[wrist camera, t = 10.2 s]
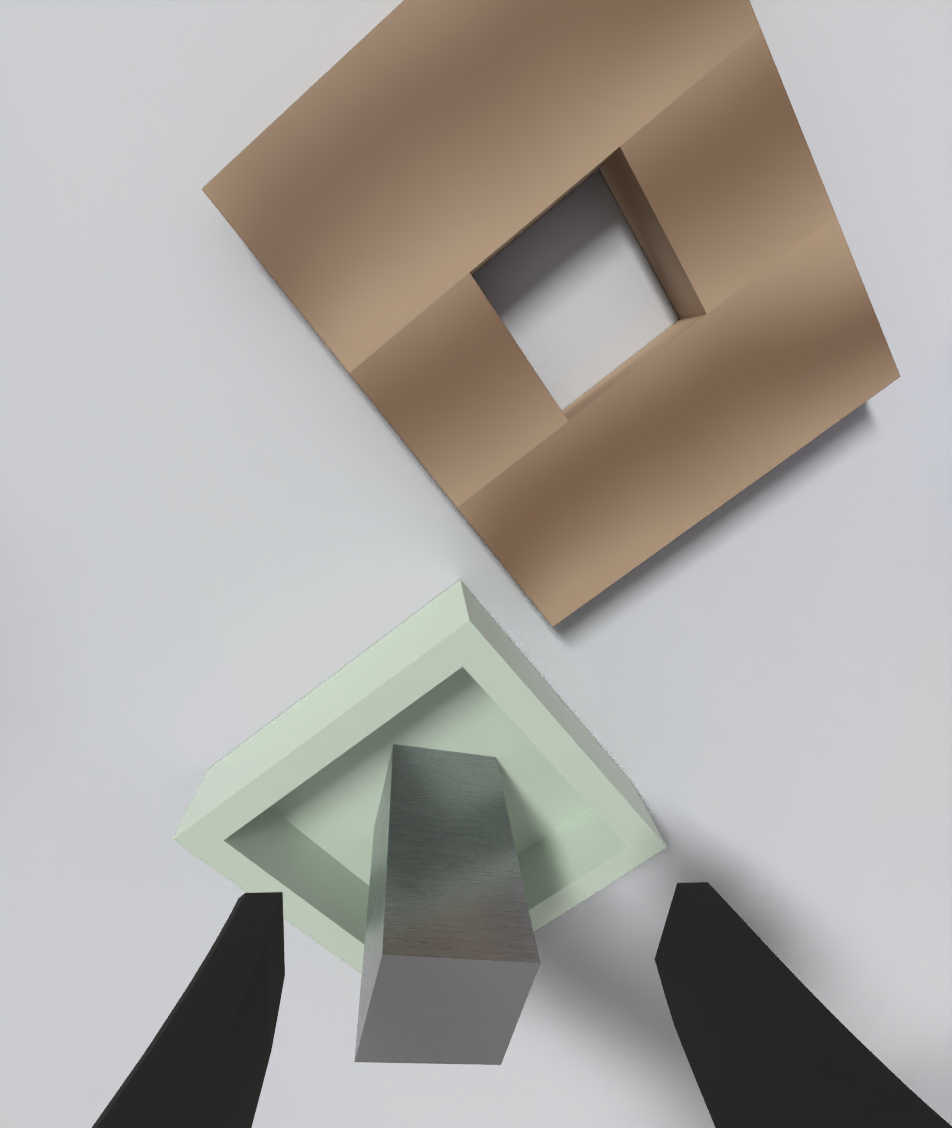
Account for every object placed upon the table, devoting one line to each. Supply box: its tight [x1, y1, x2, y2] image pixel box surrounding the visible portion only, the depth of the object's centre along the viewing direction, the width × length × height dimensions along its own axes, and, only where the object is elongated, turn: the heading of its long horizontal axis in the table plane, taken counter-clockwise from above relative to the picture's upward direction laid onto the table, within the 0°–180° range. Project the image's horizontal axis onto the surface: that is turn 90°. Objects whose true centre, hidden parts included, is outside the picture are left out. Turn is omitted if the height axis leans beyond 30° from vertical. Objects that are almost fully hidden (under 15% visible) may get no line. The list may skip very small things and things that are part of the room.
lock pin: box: [355, 744, 540, 1065], centre depth 16 cm, size 4×4×7 cm
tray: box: [173, 580, 667, 974], centre depth 18 cm, size 11×11×3 cm
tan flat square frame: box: [202, 0, 900, 627], centre depth 14 cm, size 14×12×2 cm
